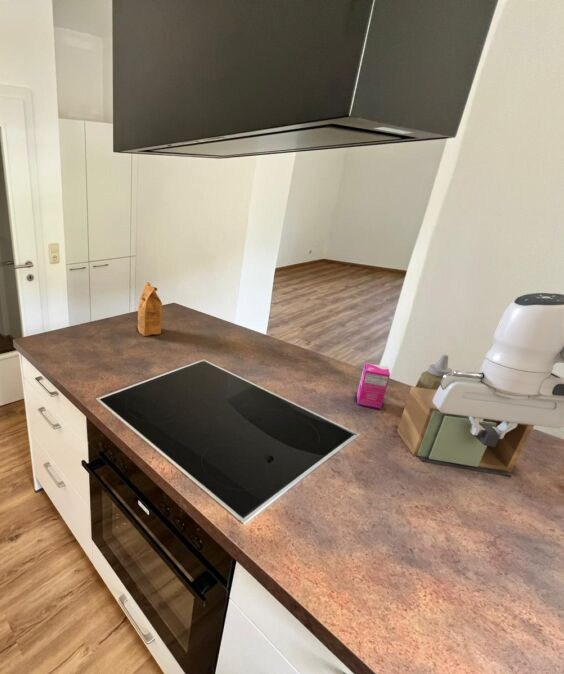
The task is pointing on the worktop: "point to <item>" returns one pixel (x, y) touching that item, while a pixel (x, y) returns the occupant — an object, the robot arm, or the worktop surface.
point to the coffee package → (149, 312)
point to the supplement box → (373, 386)
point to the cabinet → (425, 423)
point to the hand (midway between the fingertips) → (485, 435)
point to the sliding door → (462, 441)
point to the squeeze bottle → (434, 374)
